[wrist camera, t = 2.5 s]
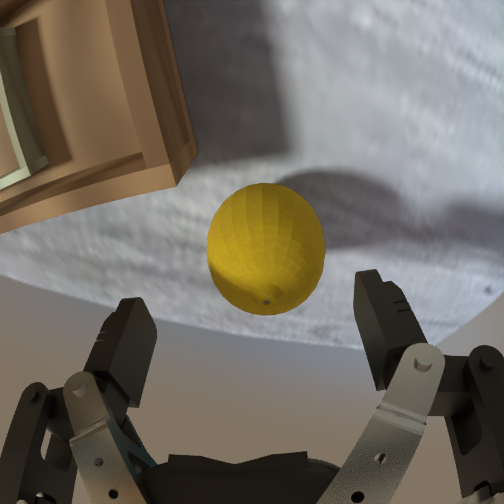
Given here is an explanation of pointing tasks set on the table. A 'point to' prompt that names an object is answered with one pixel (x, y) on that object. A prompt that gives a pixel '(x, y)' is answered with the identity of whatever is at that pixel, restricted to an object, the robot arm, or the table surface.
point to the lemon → (265, 249)
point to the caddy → (87, 106)
